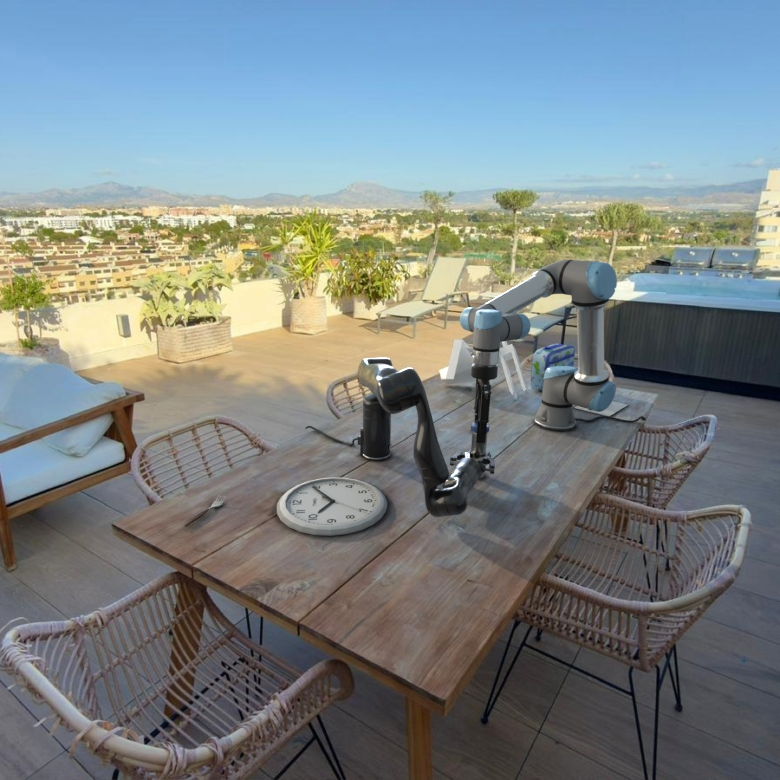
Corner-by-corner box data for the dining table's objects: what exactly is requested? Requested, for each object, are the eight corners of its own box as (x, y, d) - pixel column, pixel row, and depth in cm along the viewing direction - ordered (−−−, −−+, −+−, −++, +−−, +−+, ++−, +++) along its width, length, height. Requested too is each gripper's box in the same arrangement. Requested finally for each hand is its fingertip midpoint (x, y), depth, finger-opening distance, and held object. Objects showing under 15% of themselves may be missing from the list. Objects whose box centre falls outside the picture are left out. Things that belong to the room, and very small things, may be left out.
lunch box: (547, 395, 239) (552, 351, 233) (526, 390, 247) (530, 347, 240) (574, 384, 257) (579, 343, 251) (554, 380, 264) (558, 339, 258)
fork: (180, 527, 131) (179, 520, 130) (221, 497, 145) (220, 491, 145) (189, 529, 130) (188, 522, 130) (228, 499, 144) (228, 493, 144)
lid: (468, 427, 159) (468, 422, 158) (485, 426, 160) (485, 421, 159) (474, 434, 154) (475, 428, 153) (491, 433, 155) (492, 427, 154)
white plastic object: (461, 429, 252) (437, 405, 227) (444, 352, 274) (420, 323, 250) (535, 404, 240) (518, 377, 215) (510, 326, 262) (492, 293, 237)
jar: (482, 480, 159) (486, 430, 154) (467, 477, 160) (471, 428, 155) (485, 474, 163) (489, 425, 158) (471, 471, 164) (474, 423, 159)
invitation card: (608, 416, 214) (573, 407, 224) (608, 416, 214) (573, 408, 224) (628, 404, 229) (594, 396, 238) (628, 405, 229) (594, 397, 238)
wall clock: (392, 527, 129) (268, 531, 127) (391, 533, 130) (269, 537, 127) (383, 473, 158) (282, 475, 155) (383, 478, 158) (282, 480, 156)
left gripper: (490, 468, 143) (504, 445, 158) (441, 458, 149) (458, 437, 164) (488, 492, 145) (502, 468, 160) (439, 482, 151) (457, 459, 166)
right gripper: (468, 356, 160) (463, 427, 167) (475, 372, 142) (470, 450, 149) (492, 356, 159) (487, 427, 166) (503, 372, 142) (496, 451, 149)
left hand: (480, 453), depth 162 cm, fingers closed on jar, 4 cm apart
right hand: (479, 438), depth 158 cm, fingers closed on lid, 5 cm apart
